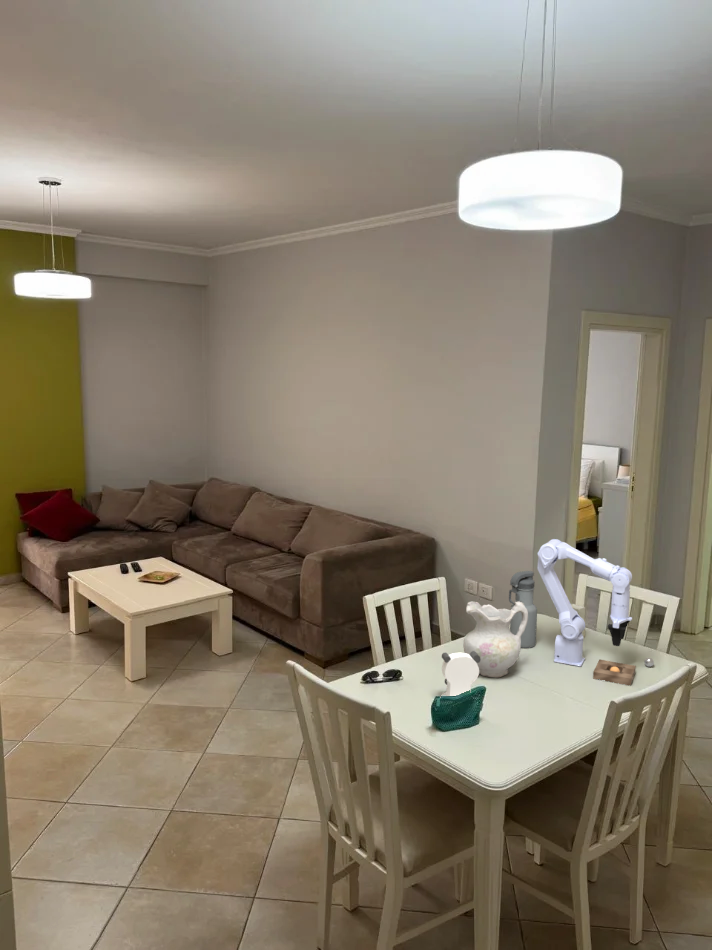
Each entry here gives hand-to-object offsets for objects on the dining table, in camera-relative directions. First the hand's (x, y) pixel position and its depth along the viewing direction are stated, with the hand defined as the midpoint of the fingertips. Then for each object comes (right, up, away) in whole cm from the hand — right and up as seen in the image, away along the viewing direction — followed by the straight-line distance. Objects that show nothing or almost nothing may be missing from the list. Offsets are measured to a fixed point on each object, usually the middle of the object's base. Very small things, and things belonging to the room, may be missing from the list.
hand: (618, 641), depth 250 cm
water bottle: (-27, -7, +26) cm, 38 cm away
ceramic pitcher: (-42, -10, +1) cm, 44 cm away
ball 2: (+13, -8, +5) cm, 16 cm away
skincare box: (-5, -6, +34) cm, 35 cm away
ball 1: (-2, -9, -3) cm, 10 cm away
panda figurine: (-58, -14, -21) cm, 63 cm away
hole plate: (-2, -11, -3) cm, 11 cm away
